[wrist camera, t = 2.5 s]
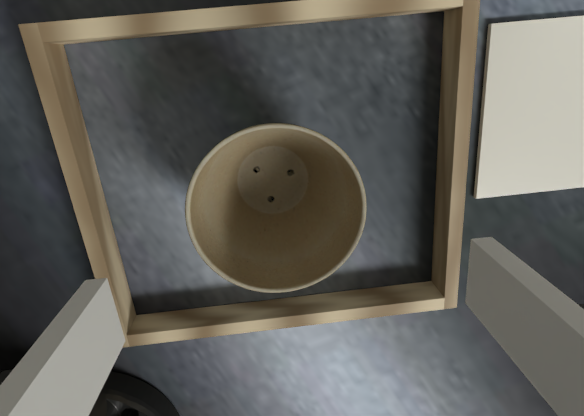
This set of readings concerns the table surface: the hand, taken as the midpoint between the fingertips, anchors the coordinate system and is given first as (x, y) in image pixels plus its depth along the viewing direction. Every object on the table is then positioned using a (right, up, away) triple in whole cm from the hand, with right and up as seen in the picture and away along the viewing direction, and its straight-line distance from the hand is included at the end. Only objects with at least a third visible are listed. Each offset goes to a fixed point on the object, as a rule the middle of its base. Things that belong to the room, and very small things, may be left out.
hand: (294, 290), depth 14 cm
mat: (+19, +10, +14) cm, 26 cm away
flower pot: (-1, +5, +14) cm, 15 cm away
